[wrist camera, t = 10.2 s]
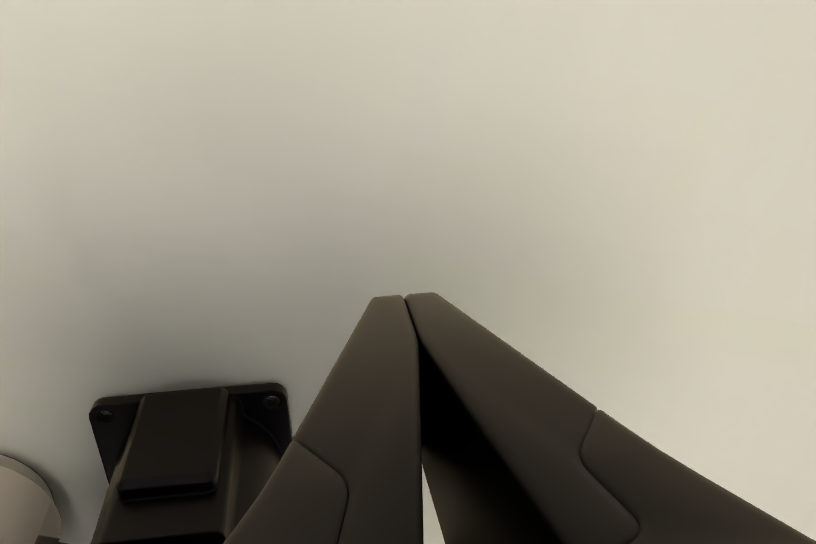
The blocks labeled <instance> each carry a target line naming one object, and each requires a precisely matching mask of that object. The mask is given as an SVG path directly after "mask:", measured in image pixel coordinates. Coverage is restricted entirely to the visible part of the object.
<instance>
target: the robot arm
mask: <svg viewBox="0 0 816 544" xmlns="http://www.w3.org/2000/svg"><path fill="white" fill-rule="evenodd" d="M269 396H276V397H278V399H276V400H269V399H268V398H267V397H269ZM102 411H107V412H109V413H111V414H112V415H105V414H103V413H101V412H102ZM89 419H90V423H91V426H92V429H93V433H94V436H95V439H96V443H97V446H98V449H99V453H100V456H101V459H102V463H103V466H104V469H105V473H106V476H107V479H108V483H109V488H108V491H107V494H106V497H105V500H104V503H103V506H102V510H101V513H100V516H99V519H98V522H97V525H96V529H95V532H94V535H93V538H92V541H91V544H424V543H423V498H422V465H423V468H424V472H425V476H426V480H427V483H428V486H429V490H430V493H431V497H432V500H433V503H434V507H435V510H436V514H437V517H438V520H439V524H440V527H441V531H442V534H443V537H444V541H445V544H816V541H814V540H813V539H811V538H809V537H807V536H805V535H804V534H802V533H800V532H798V531H797V530H795V529H793V528H792V527H790V526H788V525H786V524H785V523H783V522H781V521H779V520H778V519H776V518H774V517H773V516H771V515H769V514H767V513H766V512H764V511H762V510H760V509H759V508H757V507H755V506H753V505H752V504H750V503H748V502H747V501H745V500H743V499H741V498H740V497H738V496H736V495H734V494H733V493H731V492H729V491H728V490H726V489H724V488H722V487H721V486H719V485H717V484H715V483H714V482H712V481H710V480H709V479H707V478H705V477H703V476H702V475H700V474H698V473H697V472H695V471H693V470H692V469H690V468H688V467H687V466H685V465H684V464H682V463H680V462H679V461H677V460H675V459H674V458H672V457H670V456H669V455H667V454H665V453H664V452H662V451H660V450H659V449H657V448H656V447H654V446H653V445H651V444H650V443H648V442H647V441H645V440H644V439H642V438H641V437H639V436H638V435H636V434H635V433H633V432H632V431H630V430H629V429H627V428H626V427H624V426H623V425H622V424H620V423H619V422H617V421H616V420H614V419H613V418H612V417H610V416H609V415H607V414H606V413H605V412H603V411H602V410H598V411H597V408H596V406H594V405H593V404H592V403H590V402H589V401H587V400H586V399H584V398H583V397H582V396H580V395H579V394H577V393H576V392H575V391H573V390H572V389H570V388H569V387H568V386H566V385H565V384H563V383H562V382H561V381H559V380H558V379H556V378H555V377H553V376H552V375H551V374H549V373H548V372H546V371H545V370H544V369H542V368H541V367H539V366H538V365H537V364H535V363H534V362H532V361H531V360H529V359H528V358H527V357H525V356H524V355H522V354H521V353H520V352H518V351H517V350H515V349H514V348H513V347H511V346H510V345H508V344H507V343H506V342H504V341H503V340H501V339H500V338H498V337H497V336H496V335H494V334H493V333H491V332H490V331H489V330H487V329H486V328H484V327H483V326H482V325H480V324H479V323H477V322H476V321H474V320H473V319H472V318H470V317H469V316H467V315H466V314H465V313H463V312H462V311H460V310H459V309H458V308H456V307H455V306H453V305H452V304H451V303H449V302H448V301H446V300H445V299H443V298H442V297H441V296H439V295H438V294H436V293H432V292H431V293H419V294H409V295H407V296H406V297H405V299H404V298H403V297H402V296H400V295H394V296H381V297H374V298H373V299H372V300H371V301H370V303H369V305H368V306H367V308H366V310H365V312H364V313H363V315H362V317H361V319H360V321H359V322H358V324H357V326H356V328H355V329H354V331H353V333H352V335H351V336H350V338H349V340H348V342H347V344H346V345H345V347H344V349H343V351H342V352H341V354H340V356H339V358H338V360H337V361H336V363H335V365H334V367H333V368H332V370H331V372H330V374H329V376H328V377H327V379H326V381H325V383H324V384H323V386H322V388H321V390H320V391H319V393H318V395H317V397H316V399H315V400H314V402H313V404H312V406H311V407H310V409H309V411H308V413H307V415H306V416H305V418H304V420H303V422H302V423H301V425H300V427H299V429H298V431H297V432H296V434H295V436H294V438H293V437H292V428H291V420H290V411H289V403H288V394H287V391H286V389H285V388H284V387H283V386H282V385H280V384H278V383H264V384H253V385H242V386H230V387H216V388H204V389H193V390H182V391H171V392H159V393H149V394H140V395H129V396H117V397H106V398H101V399H98V400H97V401H95V402H94V404H93V406H92V408H91V411H90V413H89ZM34 544H67V543H61V542H59V538H55V537H49V536H43V535H38V537H37V539H36V541H35V543H34Z"/></svg>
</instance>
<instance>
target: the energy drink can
mask: <svg viewBox="0 0 816 544" xmlns="http://www.w3.org/2000/svg"><path fill="white" fill-rule="evenodd" d="M61 527H62V523H61V519H60V515H59V511H58V509H57V508H56V506H55V504H54V502H53V499H52V495H51V492H50V490H49V488H48V487H47V485H46V483H45V482H44V481H43V480H42V479H41V478H40V476H39V475H38V474H36V473H35V472H34V471H33V470H31V469H30V468H29V467H27V466H26V465H24V464H22V463H20V462H18V461H16V460H15V459H12V458H9V457H6V456H4V455H1V454H0V544H34V543H35V541H36V539H37V537H38V535H43V536H49V537H55V538H59V539H60V537H61Z"/></svg>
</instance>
